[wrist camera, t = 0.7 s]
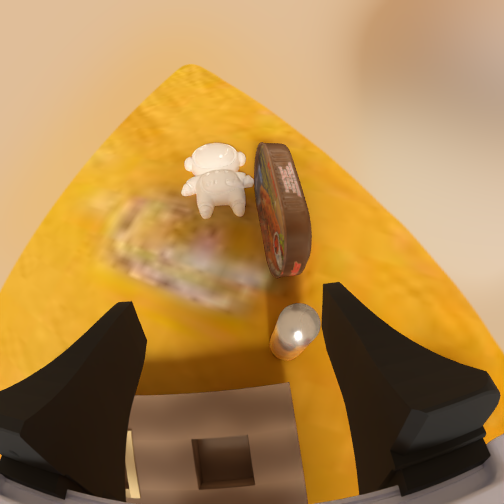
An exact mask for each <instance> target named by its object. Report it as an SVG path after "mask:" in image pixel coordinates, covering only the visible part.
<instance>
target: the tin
mask: <svg viewBox="0 0 504 504" xmlns="http://www.w3.org/2000/svg"><path fill="white" fill-rule="evenodd" d="M254 188H255V198H256V204H257V210H258V215H259V221H260V226H261V231H262V237H263V243H264V248H265V253H266V258H267V263H268V266H269V269H270V272H271V274H272V275H273V276H274V277H275V278H279V277H284V276H294V275H299V274H301V273H302V271H303V270H304V268H305V266H306V263H307V261H308V259H309V256H310V252H311V238H312V235H311V223H310V216H309V211H308V208H307V204H306V201H305V197H304V194H303V190H302V187H301V184H300V181H299V177H298V174H297V171H296V168H295V165H294V162H293V159H292V156H291V153H290V151H289V149H288V148H287V146H286V145H284V144H278V143H263V142H261V143H260V144H259V145H258V147H257V151H256V157H255V171H254Z"/></svg>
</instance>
